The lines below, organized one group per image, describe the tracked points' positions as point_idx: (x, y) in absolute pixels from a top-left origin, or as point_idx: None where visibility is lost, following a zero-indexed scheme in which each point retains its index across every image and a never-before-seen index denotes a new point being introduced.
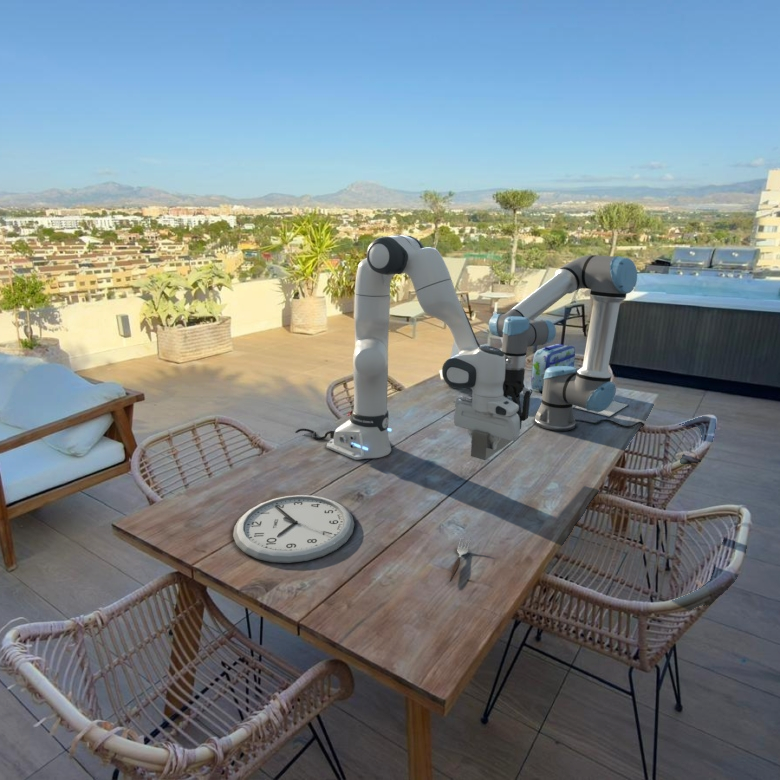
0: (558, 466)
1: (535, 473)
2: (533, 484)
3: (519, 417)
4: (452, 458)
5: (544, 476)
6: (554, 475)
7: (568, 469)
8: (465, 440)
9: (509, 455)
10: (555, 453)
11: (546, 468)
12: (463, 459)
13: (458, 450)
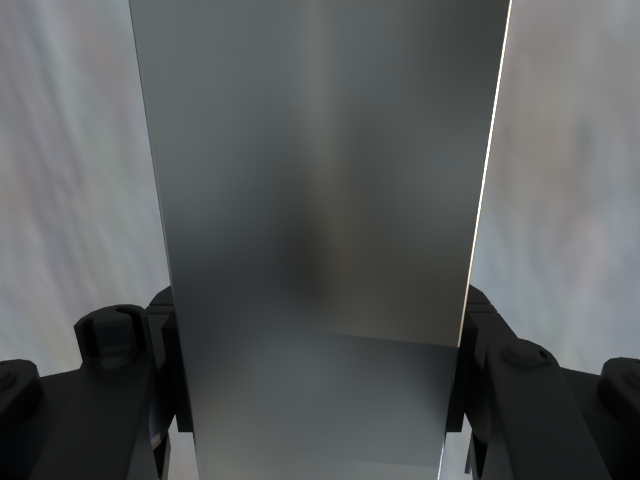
0: (79, 316)
1: (113, 166)
2: (34, 11)
3: (77, 401)
4: (620, 27)
5: (57, 161)
6: (29, 208)
7: (27, 314)
8: (616, 316)
9: None
10: (169, 429)
11: (107, 260)
12: (547, 64)
13: (617, 169)
